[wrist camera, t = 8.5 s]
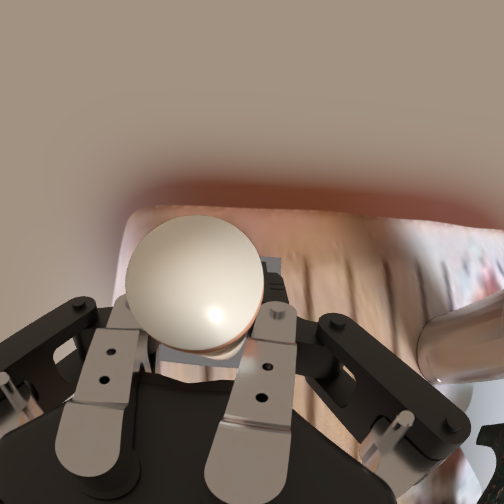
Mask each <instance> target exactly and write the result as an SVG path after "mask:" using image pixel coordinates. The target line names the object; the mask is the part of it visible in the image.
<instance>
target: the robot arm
mask: <svg viewBox="0 0 504 504" xmlns="http://www.w3.org/2000/svg"><path fill="white" fill-rule="evenodd" d="M261 264H262V268H263V276H264V293H263V299H262V303H261V306H260V309H259V311H258V314H257V316H256V318H255V320H254V322H253V324H252V326H251V328H250V329H249V331H248V338H247V341H246V345H245V348H244V352H243V355H242V358H241V362H240V365H239V368H238V372H237V375H236V378H235V380H217V381H208V382H199V383H184V382H181V381H178V380H175V379H172V378H169V377H166V376H163V375H160V374H157V373H158V357H159V355H158V346H159V344H161V343H159V342H158V341H156V340H155V339H154V338H152V337H151V336H150V335H149V334H148V333H147V332H146V331H145V330H144V329H143V328H142V327H141V326H140V324H139V323H138V322H137V320H136V319H135V317H134V315H133V313H132V312H131V309H130V307H129V304H128V300H127V296H126V294H124V295H122V296H120V297H119V298H117V300H116V301H115V304H114V306H113V307H106V308H97V306H96V302H95V301H94V299H93V298H90V297H85V296H82V297H76V298H73V299H71V300H69V301H68V302H66V303H64V304H63V305H61V306H59V307H57V308H56V309H54V310H52V311H51V312H49V313H47V314H46V315H44V316H42V317H41V318H39V319H38V320H36V321H35V322H33V323H31V324H29V325H28V326H26V327H25V328H23V329H21V330H20V331H18V332H17V333H15V334H13V335H12V336H10V337H9V338H8V339H6V340H4V341H3V342H1V343H0V504H397V501H396V499H397V498H399V497H400V496H401V495H402V494H404V493H405V492H406V491H407V490H408V489H409V488H411V487H412V486H414V485H416V484H418V483H419V482H420V481H422V480H423V479H424V478H425V477H427V476H428V475H429V474H430V473H431V472H432V471H434V470H435V469H436V468H437V467H438V466H439V465H440V464H442V463H443V462H444V461H445V460H446V459H447V458H448V457H449V456H450V455H451V454H452V453H453V452H454V451H455V450H456V449H457V448H458V447H459V446H460V445H461V444H462V443H463V442H464V441H465V440H466V439H467V438H468V437H469V435H470V432H471V424H470V420H469V418H468V417H467V415H466V414H465V413H464V412H463V411H462V410H460V409H459V408H458V407H457V406H456V405H454V404H453V403H452V402H451V401H450V400H449V399H447V398H446V397H445V396H444V395H443V394H441V393H440V392H439V391H438V390H437V389H435V388H434V387H433V386H432V385H431V384H429V383H428V382H427V381H426V380H425V379H424V378H422V377H421V376H420V375H419V374H418V373H416V372H415V371H414V370H413V369H412V368H410V367H409V366H408V365H407V364H405V363H404V362H403V361H402V360H401V359H399V358H398V357H397V356H396V355H395V354H393V353H392V352H391V351H390V350H389V349H387V348H386V347H385V346H384V345H382V344H381V343H380V342H379V341H378V340H376V339H375V338H374V337H373V336H372V335H370V334H369V333H368V332H367V331H365V330H364V329H363V328H362V327H361V326H359V325H358V324H357V323H356V322H354V321H353V320H352V319H351V318H349V317H347V316H345V315H342V314H338V313H328V314H324V315H322V316H321V317H320V318H319V321H318V322H313V321H308V320H305V319H302V318H300V317H298V316H297V312H296V310H295V308H294V307H293V306H291V305H289V301H288V297H287V293H286V290H285V285H284V281H283V278H282V277H281V276H280V275H279V274H278V273H275V272H267V265H266V262H261ZM72 337H73V340H74V343H75V346H76V348H77V349H76V350H74V351H73V352H72V353H70V354H69V355H68V356H66V357H65V358H64V359H62V360H61V361H60V362H58V363H57V364H55V362H54V360H53V354H54V351H55V350H56V348H58V347H59V346H61V345H62V344H64V343H65V342H66V341H68V340H69V339H70V338H72ZM417 358H418V364H419V367H420V370H421V372H422V374H423V375H424V377H425V378H426V379H427V380H428V381H429V382H431V383H433V384H439V385H441V384H460V383H472V382H482V381H491V380H498V379H504V289H503V290H501V291H499V292H497V293H495V294H492V295H490V296H488V297H486V298H483V299H481V300H479V301H477V302H474V303H472V304H469V305H467V306H465V307H462V308H460V309H457V310H454V311H452V312H449V313H447V314H444V315H441V316H439V317H436V318H434V319H432V320H431V321H429V322H428V323H427V324H426V325H425V327H424V329H423V330H422V332H421V335H420V337H419V341H418V347H417ZM343 366H345V367H346V368H347V369H348V370H349V371H350V372H351V373H352V374H353V375H354V377H355V379H356V381H355V380H354V379H353V378H352V377H351V376H350V375H349V374H348V373H347V372H346V371H345V370H344V369H343ZM295 374H298V375H303V376H305V379H306V381H307V383H308V384H309V385H310V386H311V387H312V389H313V390H314V391H315V392H316V393H317V395H318V396H319V397H320V398H321V399H322V401H323V402H324V403H325V404H326V405H327V406H328V408H329V409H330V410H331V411H332V412H333V413H334V415H335V416H336V417H337V418H338V419H339V420H340V422H341V423H342V424H343V425H344V426H345V427H346V429H347V430H348V431H349V432H350V433H351V434H352V435H353V436H354V438H355V439H356V440H357V441H358V442H359V443H360V444H361V445H360V448H359V455H360V458H361V460H362V464H361V463H360V462H358V461H357V460H356V459H354V458H353V457H352V456H350V455H349V454H348V453H346V452H345V451H344V450H342V449H341V448H340V447H338V446H337V445H336V444H335V443H333V442H332V441H331V440H329V439H328V438H327V437H326V436H325V435H323V434H322V433H321V432H320V431H318V430H317V429H316V428H315V427H313V426H312V425H311V424H310V423H309V422H307V421H306V420H305V419H304V418H303V417H302V416H300V415H299V414H298V413H297V412H296V411H295V410H293V409H292V406H293V394H294V382H295ZM74 393H75V395H74V397H73V398H71V399H69V400H68V401H66V402H64V401H65V400H66V399H68V398H69V397H70V396H71V395H73V394H74ZM63 402H64V403H63Z"/></svg>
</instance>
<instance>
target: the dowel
mask: <svg viewBox="0 0 504 504" xmlns="http://www.w3.org/2000/svg"><path fill="white" fill-rule="evenodd" d="M125 287H126V296H127V300H128V304H129V307H130V309H131V312H132V313H133V315H134V317H135V319H136V320H137V322H138V323H139V324H140V326H141V327H142V328H143V329H144V330H145V331H146V332H147V333H148V334H149V335H150V336H151V337H152V338H154V339H155V340H156V341H158V342H159V343H161V344H163V345H165V346H167V347H169V348H172V349H175V350H178V351H181V352H185V353H189V354H197V355H200V356H204V357H207V358H210V359H214V360H225V359H228V358H231V357H233V356H234V355H236V354H237V353H238V352H239V350H240V349H241V347H242V345H243V343H244V341H245V338H246V336H247V333H248V331H249V329H250V328H251V326H252V324H253V322H254V320H255V318H256V316H257V314H258V311H259V309H260V306H261V303H262V299H263V293H264V276H263V268H262V264H261V260H260V258H259V255H258V253H257V251H256V249H255V247H254V246H253V244H252V243H251V241H250V240H249V239H248V238H247V236H245V235H244V234H243V233H242V232H241V231H240V230H239V229H237V228H236V227H235V226H233V225H231V224H230V223H228V222H226V221H223V220H221V219H218V218H215V217H211V216H204V215H189V216H183V217H178V218H175V219H172V220H169V221H167V222H165V223H163V224H161V225H159V226H158V227H156V228H155V229H153V230H152V231H151V232H149V233H148V234H147V235H146V236H145V237H144V238H143V239H142V241H141V242H140V243H139V244H138V246H137V247H136V249H135V251H134V252H133V254H132V257H131V259H130V261H129V264H128V268H127V273H126V283H125Z"/></svg>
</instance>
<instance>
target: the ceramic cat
mask: <svg viewBox="0 0 504 504" xmlns="http://www.w3.org/2000/svg"><path fill="white" fill-rule="evenodd" d="M476 444H477V445H483V446H488V447H491V448H492V449H493V450H494V452H495V455H496V469H495V472H494V475H493V477H492V479H491V480H490V483H489V484H488V486H487V488H486V489H485V491H484V493H483V494H482V496H481V497H480V499H479V500H478V502H477V504H504V423H501V424H495V425H486V426H482V427H481V429H480V432H479V434H478V437H477V441H476Z"/></svg>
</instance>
